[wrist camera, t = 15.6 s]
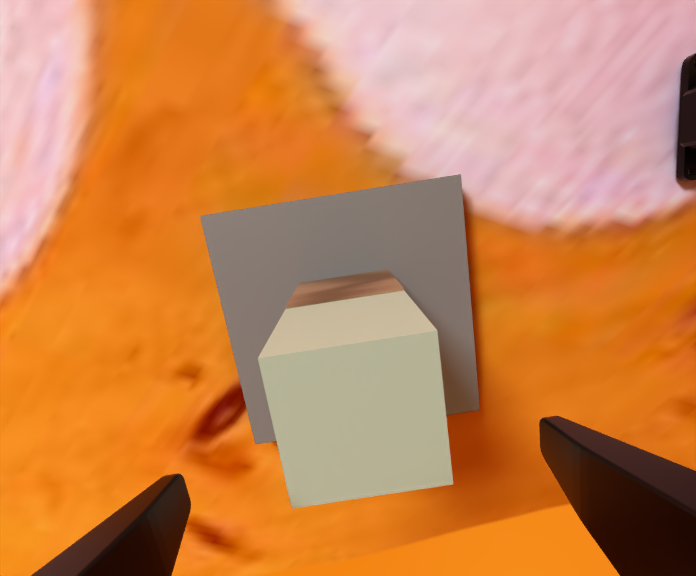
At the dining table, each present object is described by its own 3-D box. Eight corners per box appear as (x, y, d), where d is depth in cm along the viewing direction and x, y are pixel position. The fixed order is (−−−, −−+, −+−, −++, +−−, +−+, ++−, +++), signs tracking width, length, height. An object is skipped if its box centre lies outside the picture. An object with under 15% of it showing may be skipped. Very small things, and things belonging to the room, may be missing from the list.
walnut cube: (387, 269, 19) (403, 288, 14) (398, 352, 20) (417, 396, 15) (299, 283, 19) (285, 306, 14) (314, 365, 20) (306, 413, 15)
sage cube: (404, 290, 14) (437, 330, 9) (417, 398, 15) (453, 484, 11) (285, 309, 14) (257, 358, 10) (306, 415, 15) (291, 508, 11)
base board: (451, 177, 20) (460, 174, 18) (470, 397, 23) (479, 410, 21) (210, 215, 20) (200, 216, 18) (260, 429, 23) (255, 444, 21)
